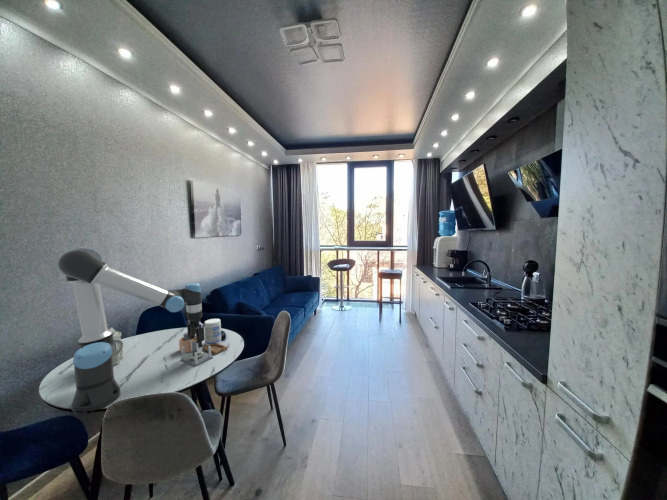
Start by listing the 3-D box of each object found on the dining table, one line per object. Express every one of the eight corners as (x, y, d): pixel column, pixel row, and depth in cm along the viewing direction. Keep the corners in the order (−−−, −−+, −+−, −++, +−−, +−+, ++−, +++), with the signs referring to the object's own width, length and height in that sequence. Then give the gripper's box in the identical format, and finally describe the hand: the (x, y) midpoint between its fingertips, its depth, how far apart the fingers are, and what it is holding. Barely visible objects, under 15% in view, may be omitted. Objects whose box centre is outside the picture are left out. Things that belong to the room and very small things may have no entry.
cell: (195, 356, 139) (194, 338, 138) (190, 354, 141) (189, 337, 140) (203, 352, 143) (202, 335, 142) (198, 350, 145) (197, 334, 144)
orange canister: (185, 353, 148) (184, 337, 147) (177, 350, 152) (176, 334, 151) (198, 348, 155) (197, 332, 154) (190, 345, 159) (189, 330, 158)
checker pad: (193, 359, 138) (193, 356, 138) (189, 357, 140) (189, 355, 140) (204, 354, 144) (203, 352, 143) (199, 353, 146) (199, 350, 145)
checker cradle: (195, 366, 134) (194, 353, 134) (181, 359, 141) (180, 347, 141) (212, 358, 143) (212, 346, 142) (198, 352, 150) (197, 340, 149)
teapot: (104, 374, 128) (101, 338, 126) (81, 371, 131) (77, 336, 129) (135, 358, 144) (133, 326, 142) (114, 355, 147) (111, 324, 145)
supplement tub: (216, 346, 157) (215, 323, 156) (201, 346, 158) (200, 323, 157) (224, 340, 167) (223, 318, 166) (210, 339, 168) (209, 318, 167)
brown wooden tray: (215, 354, 146) (215, 352, 146) (203, 350, 152) (202, 347, 152) (227, 349, 153) (227, 346, 153) (215, 344, 159) (214, 342, 159)
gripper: (210, 311, 139) (212, 352, 141) (191, 307, 148) (194, 345, 149) (197, 315, 132) (199, 358, 134) (178, 310, 141) (181, 350, 143)
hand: (196, 351), depth 142 cm, fingers closed on cell, 4 cm apart
